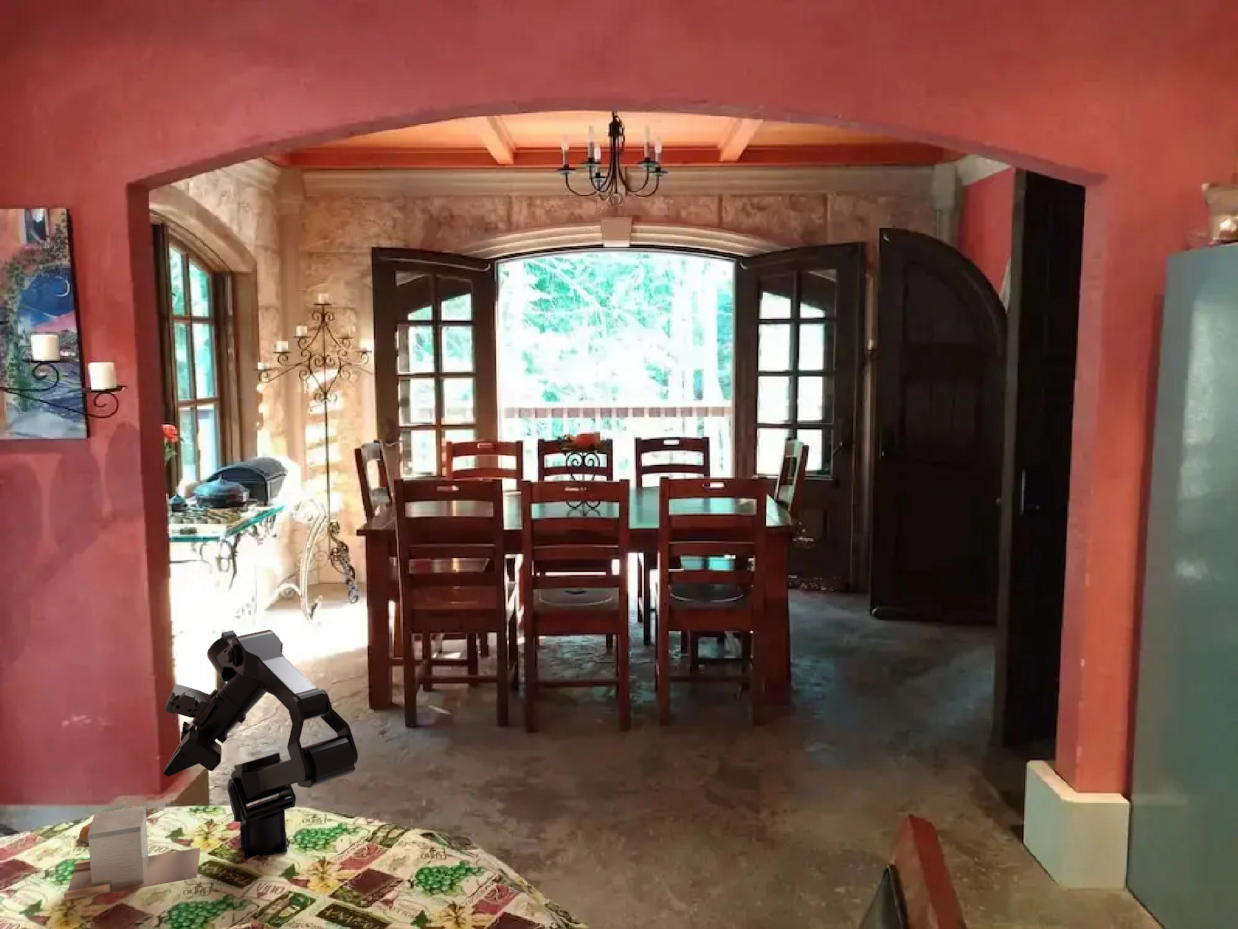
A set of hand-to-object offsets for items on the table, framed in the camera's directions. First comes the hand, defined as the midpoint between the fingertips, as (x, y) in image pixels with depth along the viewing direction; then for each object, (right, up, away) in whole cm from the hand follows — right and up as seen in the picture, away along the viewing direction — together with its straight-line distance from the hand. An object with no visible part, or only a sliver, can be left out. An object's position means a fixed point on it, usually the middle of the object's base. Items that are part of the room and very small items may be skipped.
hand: (165, 773), depth 156 cm
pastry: (-12, -13, +9) cm, 20 cm away
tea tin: (-4, -14, -5) cm, 16 cm away
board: (-3, -14, -4) cm, 15 cm away
